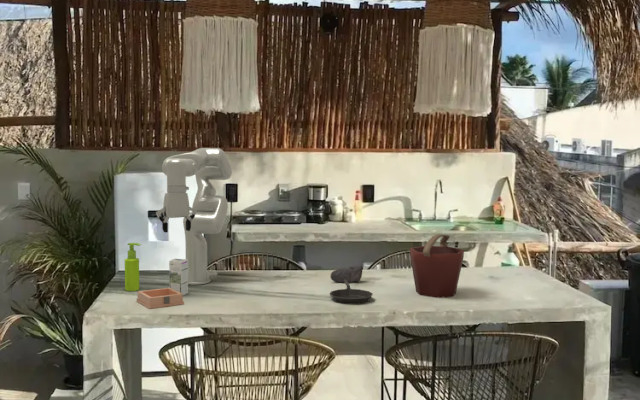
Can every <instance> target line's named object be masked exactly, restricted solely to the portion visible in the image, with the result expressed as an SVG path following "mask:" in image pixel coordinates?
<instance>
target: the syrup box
mask: <svg viewBox="0 0 640 400" xmlns="http://www.w3.org/2000/svg"><path fill="white" fill-rule="evenodd" d="M168 267H169V268H168V269H169V270H168V271H169V275H168V276H169V280H168V281H169V288H171V289H174V290H176V291H178V292H180V293H182V294H183V296H185V295H187V294H188V293H189V286H188V285H189V284H188V260H186V258H185V259H184V258H183V259H182V258H172V259H170V260H169V263H168Z"/></svg>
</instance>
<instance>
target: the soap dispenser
mask: <svg viewBox="0 0 640 400" xmlns="http://www.w3.org/2000/svg"><path fill="white" fill-rule="evenodd" d="M141 245H142V244H141V243H139V242H128V243H127V246H129V250H127V258H124V290H125V291H127V292H135V291H136V292H137V291H140V258H137V251H136V250H135V249H134V248H135V247H134V246H141Z"/></svg>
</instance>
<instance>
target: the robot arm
mask: <svg viewBox="0 0 640 400" xmlns="http://www.w3.org/2000/svg"><path fill="white" fill-rule="evenodd" d="M162 162H163V163H162V165H161V170H162V173H163V174H164V175H165V176H166V190H167V191H166V192H165V193H164V195H163V196H164V197H163V206H162V208H160V209H159V210H158V211H155V214H156V217H157V218H158V220H160V221H161V225H162V227H161V229H162V231H163V233H168V229H169V227H168V226H169V223H168V220H169V219H177V218H183V219H182V224H183V226H182V227H183V229H184V237H185V259H186V260H188V285H193V286H195V285H196V286H197V285H205V284H209V283H210V282H211V281H212V280H211V278H213V277H218V272H217V271H214V272H213V271H208V242H207V239H206V238H205V236H204V234H205V235H217V234H219V233H221V231H222V230H223V227H224V224H225V220H226V217H227V213H228V208H229V206H228V205H229V204H228V203H229V202H228V199H227V198H226V197H225V196H224V195H219V194H217V190H216V188H215V186H214V185H213V184H212V183H211V181H210V180H212V181H217V180H218V181H227V180H229V179H230V178H231V177H232V173H233V170H232V169H233V168H232V165H231V163H230V161H229V158H228V156H227V154H226V153H225V151H224V150H223V149H222V148H219V147H200V148H197V149H195V150H193V151H191V152H185V153H181V154H175V155H171V156H168V157H167V158H165V159H164V160H163V161H162ZM194 175H195V182H196V185H197V191H196V193H195V197H194V199H193V203H192V206H190V201H189V200H190V199H189V195H188V192H187V191H189V190H190V187H189V186H187V181H186V179H187V178H188V177H193V176H194ZM162 215H163V216H162Z"/></svg>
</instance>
